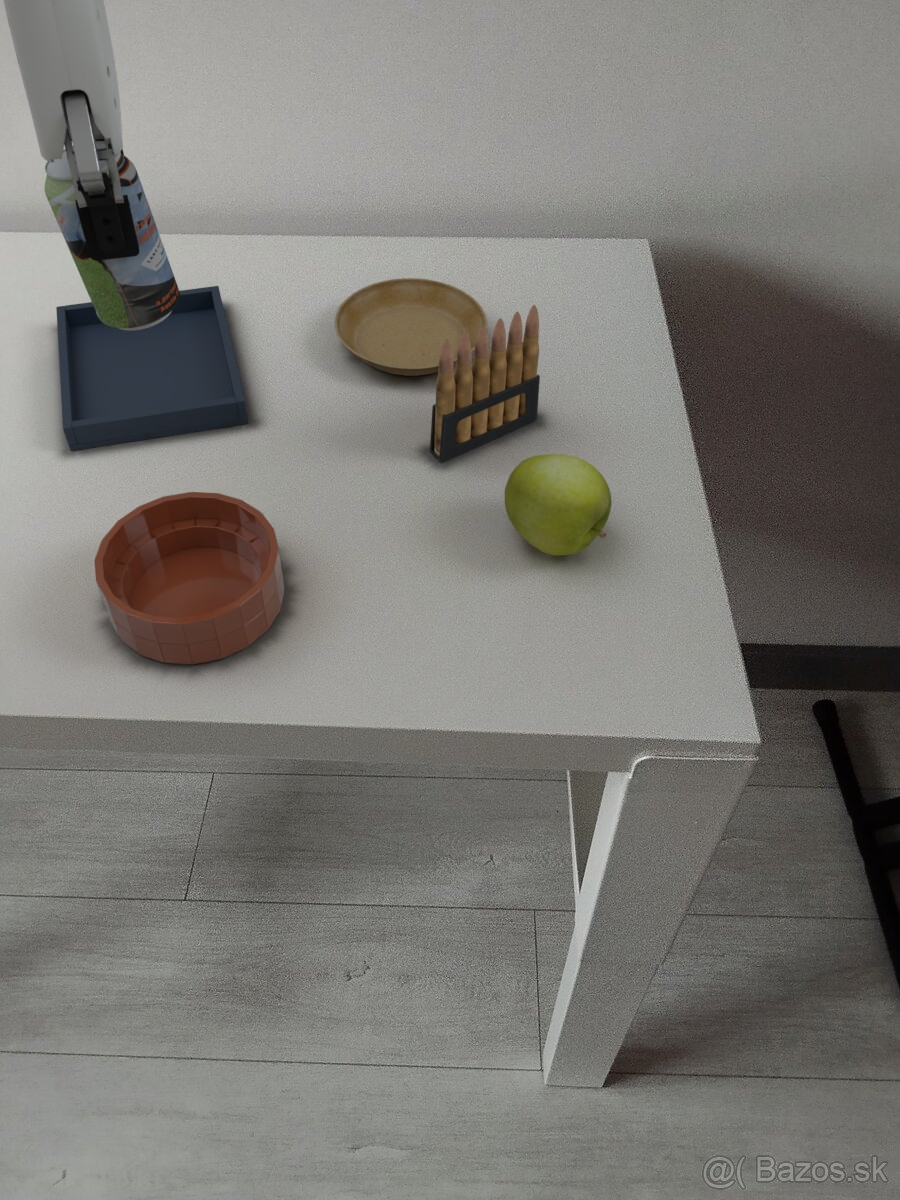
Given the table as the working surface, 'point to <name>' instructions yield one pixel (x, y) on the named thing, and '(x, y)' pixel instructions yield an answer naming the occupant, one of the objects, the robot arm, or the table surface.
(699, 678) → the table surface
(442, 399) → the ammunition clip
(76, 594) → the table surface
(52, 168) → the beverage can
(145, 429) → the tray
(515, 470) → the apple
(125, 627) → the bowl
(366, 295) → the plant saucer
